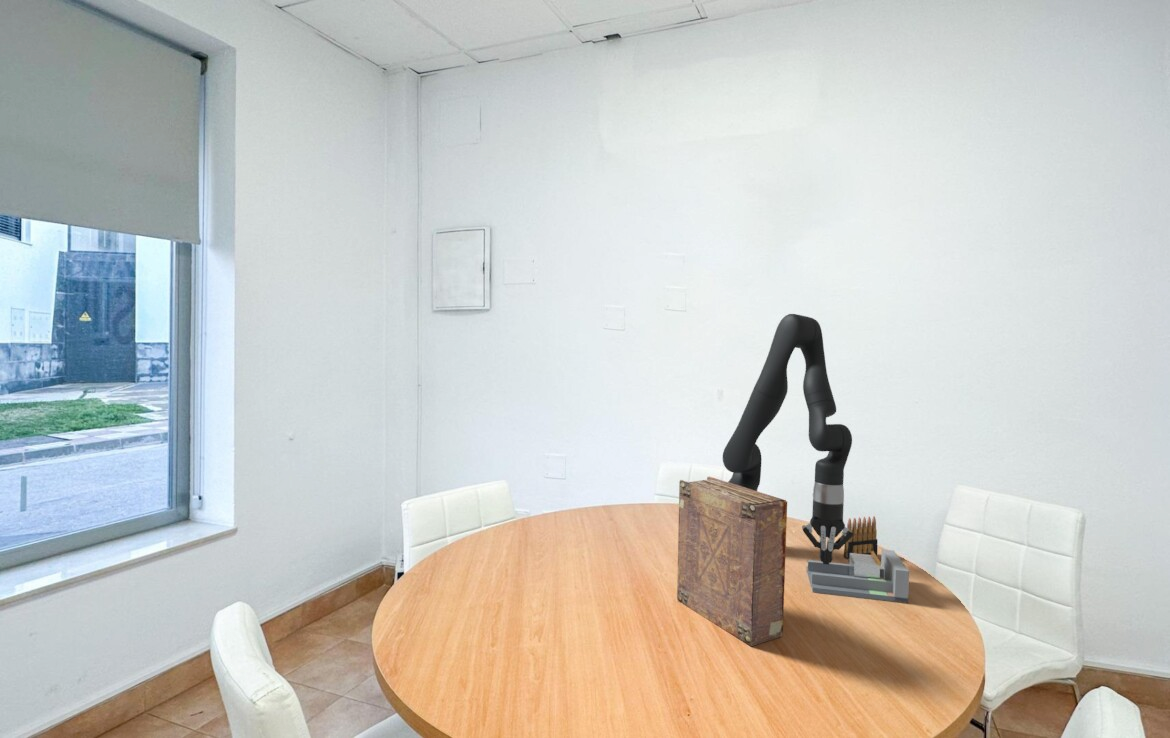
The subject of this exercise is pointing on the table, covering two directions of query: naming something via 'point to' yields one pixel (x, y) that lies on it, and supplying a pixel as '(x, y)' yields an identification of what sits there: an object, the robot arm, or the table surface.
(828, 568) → the base
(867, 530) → the ammunition clip
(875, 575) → the plunger
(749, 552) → the book
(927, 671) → the table surface
